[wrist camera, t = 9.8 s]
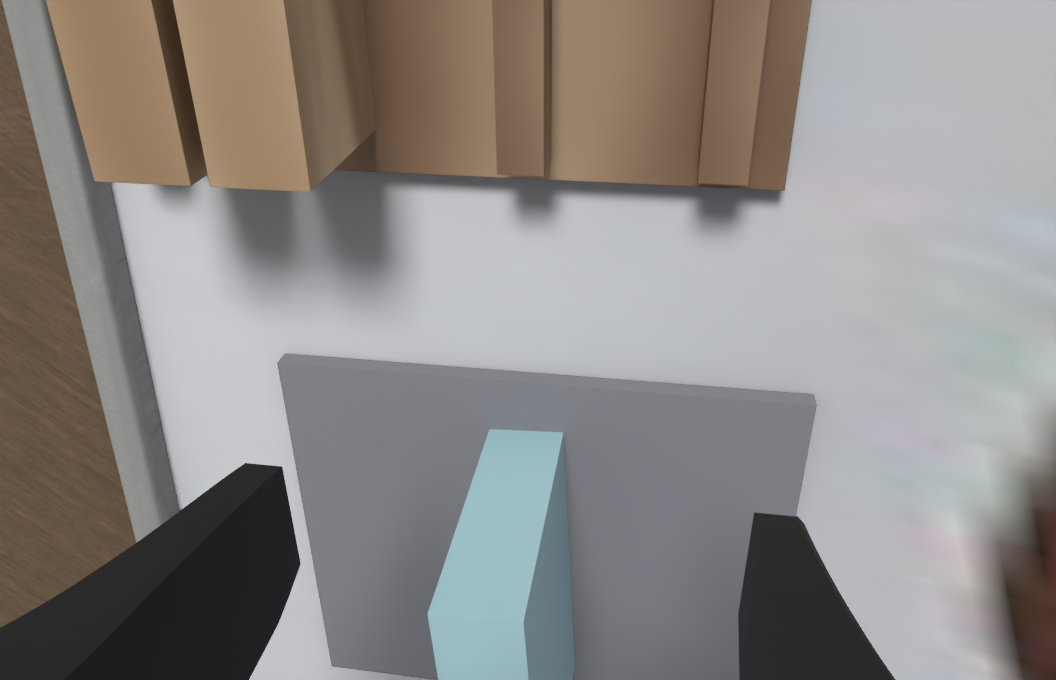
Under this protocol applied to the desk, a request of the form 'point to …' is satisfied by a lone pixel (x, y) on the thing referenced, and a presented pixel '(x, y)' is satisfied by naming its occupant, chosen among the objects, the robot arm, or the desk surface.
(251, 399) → the desk surface
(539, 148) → the rack
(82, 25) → the offcut
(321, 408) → the mat
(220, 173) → the offcut
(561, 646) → the pale teal block
